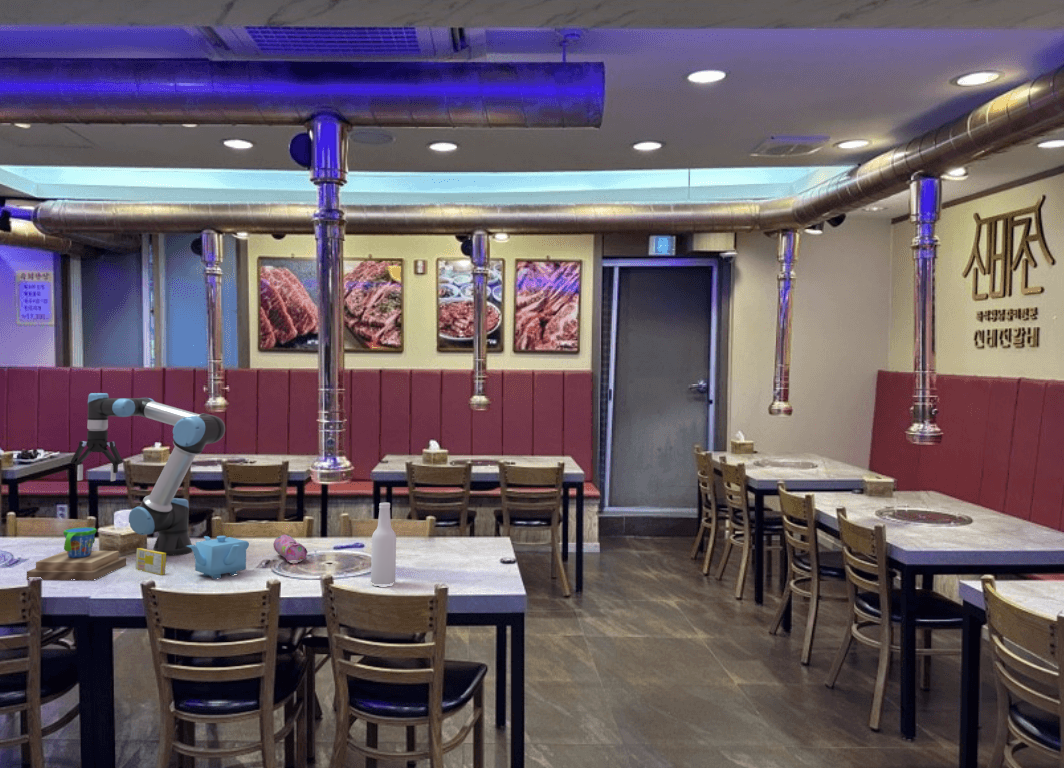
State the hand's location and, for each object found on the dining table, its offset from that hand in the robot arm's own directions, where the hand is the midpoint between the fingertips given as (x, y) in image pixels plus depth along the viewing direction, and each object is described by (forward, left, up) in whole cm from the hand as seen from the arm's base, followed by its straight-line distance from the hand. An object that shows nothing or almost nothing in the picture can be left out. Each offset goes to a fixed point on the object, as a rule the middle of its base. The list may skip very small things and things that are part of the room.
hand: (96, 480), depth 324 cm
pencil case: (-82, +5, -31) cm, 88 cm away
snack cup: (-10, +31, -25) cm, 41 cm away
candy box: (-36, +29, -31) cm, 56 cm away
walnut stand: (-10, +31, -31) cm, 45 cm away
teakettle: (-63, +33, -31) cm, 78 cm away
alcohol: (-127, +44, -31) cm, 138 cm away
